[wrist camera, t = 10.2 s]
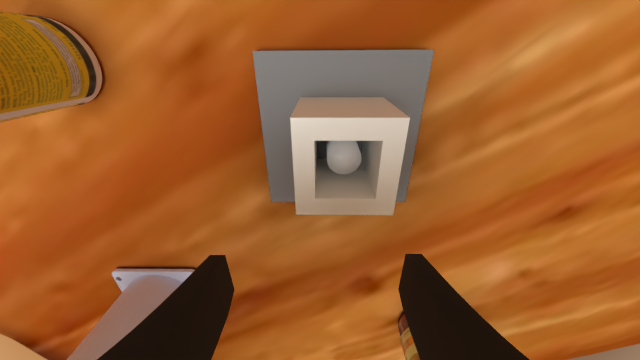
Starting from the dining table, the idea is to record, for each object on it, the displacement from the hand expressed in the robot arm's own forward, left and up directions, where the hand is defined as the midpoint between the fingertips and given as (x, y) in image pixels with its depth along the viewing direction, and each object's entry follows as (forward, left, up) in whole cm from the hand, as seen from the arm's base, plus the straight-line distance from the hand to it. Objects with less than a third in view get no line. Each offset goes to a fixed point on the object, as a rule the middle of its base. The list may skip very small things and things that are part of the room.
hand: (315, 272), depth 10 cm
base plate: (+3, -1, -9) cm, 10 cm away
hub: (+3, -1, -8) cm, 9 cm away
